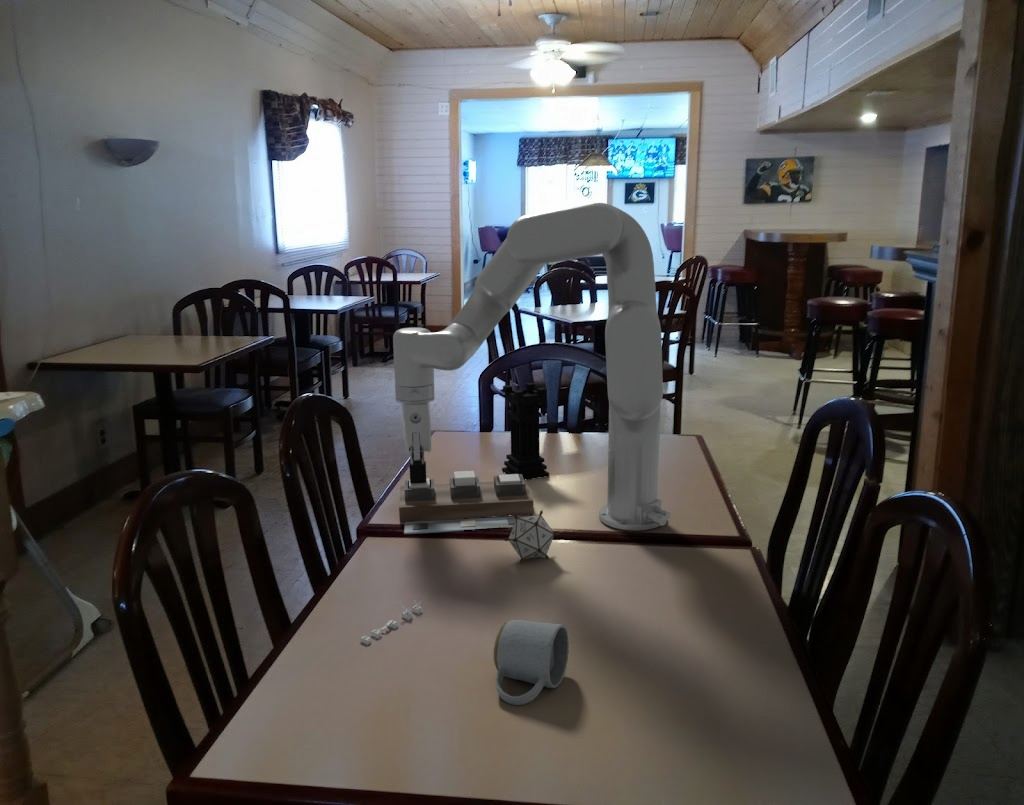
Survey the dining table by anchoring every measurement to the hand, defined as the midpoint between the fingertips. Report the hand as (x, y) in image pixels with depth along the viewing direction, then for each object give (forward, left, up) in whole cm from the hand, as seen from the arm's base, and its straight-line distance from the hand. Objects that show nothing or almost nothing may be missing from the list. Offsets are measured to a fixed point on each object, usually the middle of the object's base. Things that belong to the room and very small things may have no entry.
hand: (418, 481), depth 160 cm
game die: (-32, -4, -6) cm, 32 cm away
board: (-7, -6, -6) cm, 11 cm away
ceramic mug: (-61, +19, -6) cm, 64 cm away
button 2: (-9, -16, -2) cm, 18 cm away
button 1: (0, 0, -2) cm, 2 cm away
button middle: (-5, -8, -1) cm, 9 cm away
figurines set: (-37, +26, -7) cm, 46 cm away
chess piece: (+4, -30, -6) cm, 31 cm away
